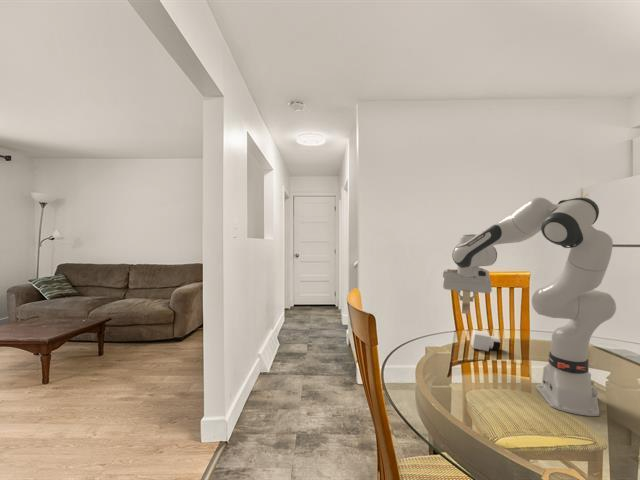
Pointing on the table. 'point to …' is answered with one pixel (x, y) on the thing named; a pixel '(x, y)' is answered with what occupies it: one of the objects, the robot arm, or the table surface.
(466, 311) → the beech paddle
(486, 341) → the medicine bottle
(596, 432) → the table surface
